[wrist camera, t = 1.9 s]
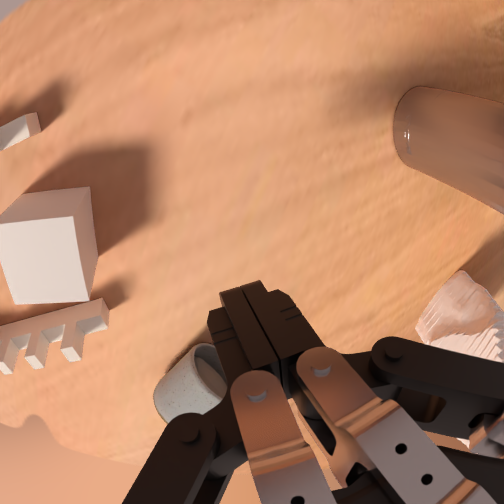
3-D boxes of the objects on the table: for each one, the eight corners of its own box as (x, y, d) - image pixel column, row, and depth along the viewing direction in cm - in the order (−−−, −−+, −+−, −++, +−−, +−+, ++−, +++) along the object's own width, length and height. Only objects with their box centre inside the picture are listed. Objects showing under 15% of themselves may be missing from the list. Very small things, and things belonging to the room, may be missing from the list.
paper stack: (456, 246, 38) (578, 347, 17) (484, 294, 52) (558, 364, 31) (372, 352, 43) (465, 474, 22) (426, 367, 57) (489, 443, 36)
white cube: (22, 193, 18) (-10, 224, 13) (90, 185, 20) (72, 215, 15) (35, 261, 21) (15, 305, 16) (98, 256, 23) (89, 301, 18)
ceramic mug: (145, 376, 31) (153, 434, 24) (185, 332, 29) (202, 394, 23) (215, 397, 37) (232, 446, 30) (257, 360, 35) (281, 411, 29)
